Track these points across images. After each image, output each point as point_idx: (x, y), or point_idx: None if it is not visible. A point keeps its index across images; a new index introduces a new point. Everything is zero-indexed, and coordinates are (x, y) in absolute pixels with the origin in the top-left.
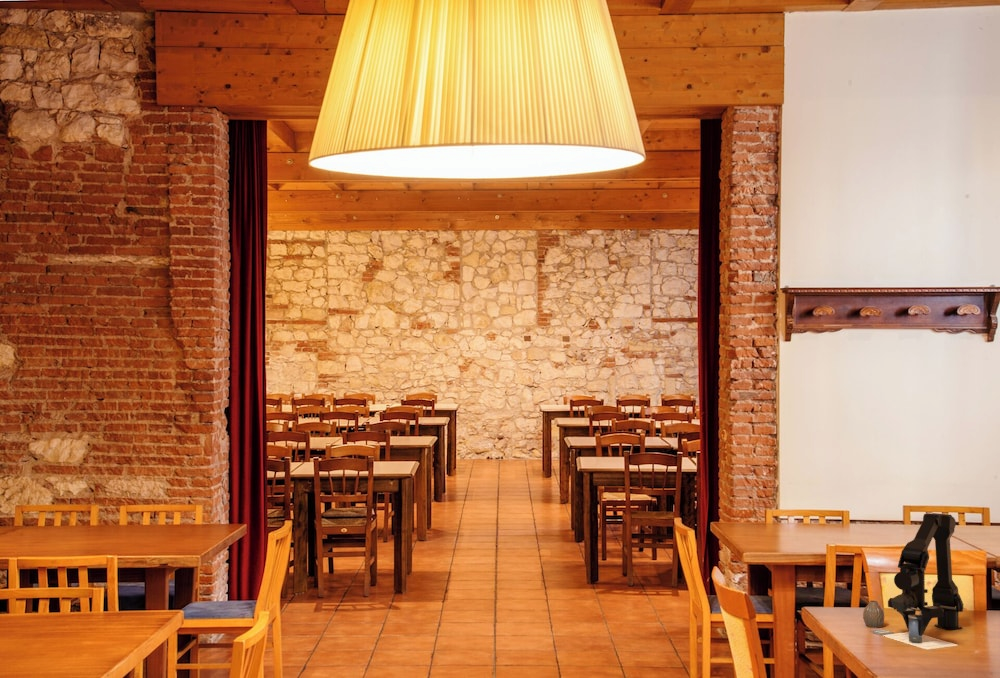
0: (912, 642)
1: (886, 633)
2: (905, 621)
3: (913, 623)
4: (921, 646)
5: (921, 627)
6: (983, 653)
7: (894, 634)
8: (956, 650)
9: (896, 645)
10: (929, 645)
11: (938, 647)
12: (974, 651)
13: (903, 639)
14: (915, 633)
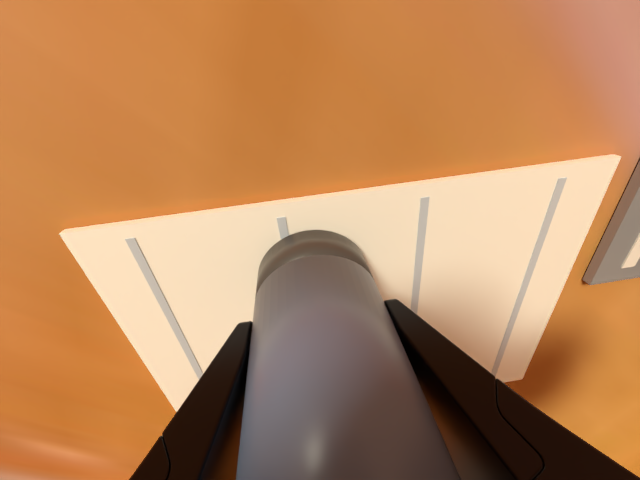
0: None
1: (620, 220)
2: (496, 391)
3: (275, 426)
4: (156, 232)
5: (178, 427)
6: (10, 461)
7: (558, 258)
8: (72, 390)
9: (282, 9)
10: (190, 307)
11: (125, 332)
12: (57, 446)
13: (418, 231)
14: (262, 308)
